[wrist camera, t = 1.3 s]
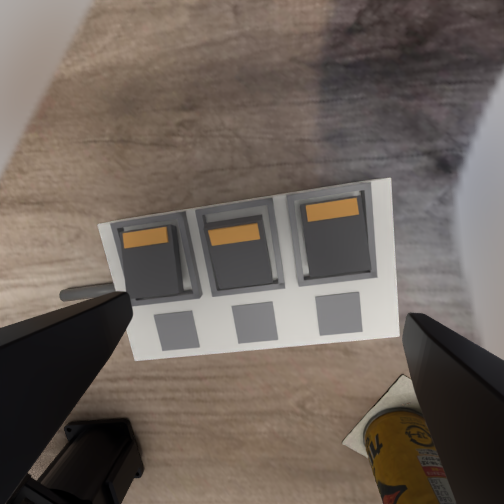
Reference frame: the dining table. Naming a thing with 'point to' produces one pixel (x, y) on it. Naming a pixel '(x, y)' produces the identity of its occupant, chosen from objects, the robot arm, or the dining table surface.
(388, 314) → the power strip
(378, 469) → the condiment
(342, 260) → the rocker
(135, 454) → the robot arm
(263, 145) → the dining table surface
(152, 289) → the rocker
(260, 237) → the rocker middle
